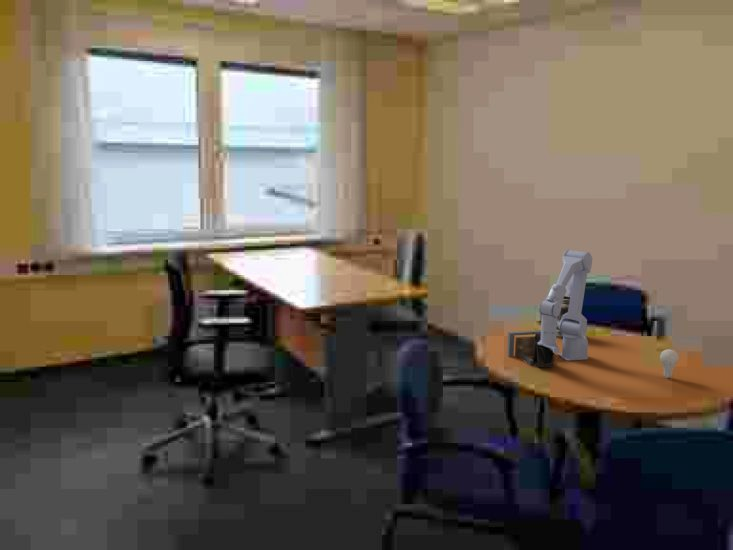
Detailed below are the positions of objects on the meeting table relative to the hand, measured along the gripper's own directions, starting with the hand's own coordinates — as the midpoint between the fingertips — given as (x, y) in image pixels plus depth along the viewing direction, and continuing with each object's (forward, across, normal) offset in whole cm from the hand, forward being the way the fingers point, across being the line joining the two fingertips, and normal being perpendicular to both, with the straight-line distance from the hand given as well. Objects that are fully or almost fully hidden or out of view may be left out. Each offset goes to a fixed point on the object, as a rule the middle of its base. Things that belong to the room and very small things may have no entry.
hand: (546, 365), depth 243 cm
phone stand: (+1, -3, 0) cm, 3 cm away
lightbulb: (+2, +18, +40) cm, 43 cm away
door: (+1, -14, 0) cm, 14 cm away
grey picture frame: (+1, -17, 0) cm, 17 cm away
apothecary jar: (+2, -39, +27) cm, 48 cm away
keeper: (+1, -9, 0) cm, 9 cm away
